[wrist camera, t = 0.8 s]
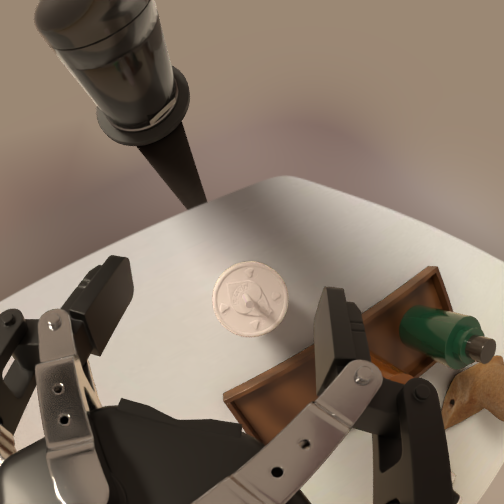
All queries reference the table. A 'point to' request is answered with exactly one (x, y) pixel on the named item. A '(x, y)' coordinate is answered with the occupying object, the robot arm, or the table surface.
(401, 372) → the amber bottle
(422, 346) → the green bottle
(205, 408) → the table surface
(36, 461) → the robot arm
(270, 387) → the tray
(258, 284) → the smoothie
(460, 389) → the stone cup
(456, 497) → the medicine bottle
